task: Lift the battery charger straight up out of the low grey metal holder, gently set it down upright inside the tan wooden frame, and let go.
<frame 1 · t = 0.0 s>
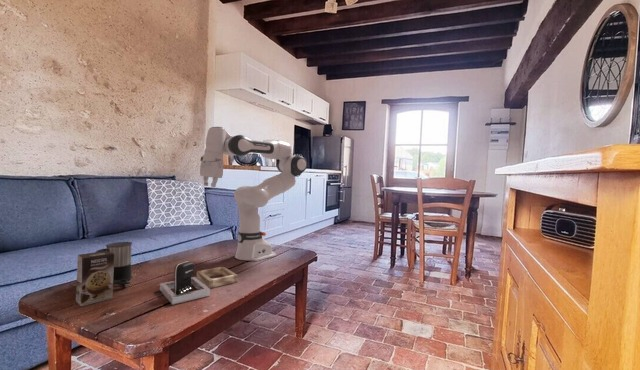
hand: (209, 186, 145), 39 cm above the table, tool pointing down, fingers open, 8 cm apart
battery charger: (184, 293, 111), resting in holder
tan wooden frame: (216, 280, 125), on the table
cookie box: (94, 300, 102), on the table
holder: (184, 292, 111), on the table
milk frother: (119, 282, 117), on the table
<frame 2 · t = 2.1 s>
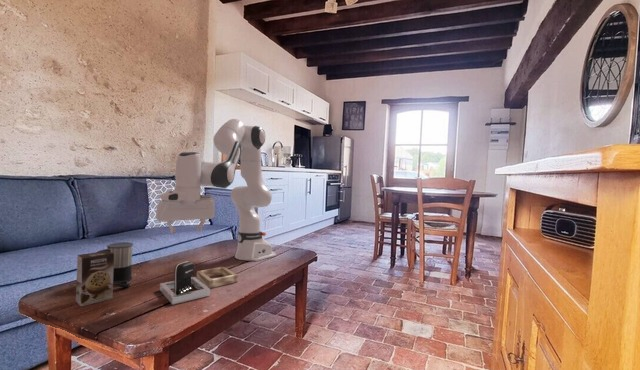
hand: (186, 231, 110), 23 cm above the table, tool pointing down, fingers open, 8 cm apart
nothing on the table moved.
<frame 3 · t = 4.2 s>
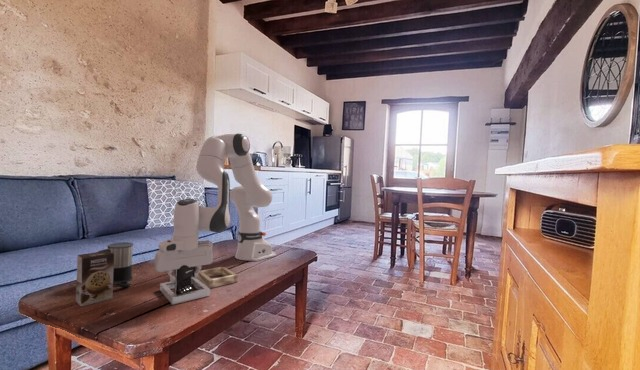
hand: (184, 279, 111), 5 cm above the table, tool pointing down, fingers open, 7 cm apart
battery charger: (184, 293, 111), resting in holder, touching gripper
everything else where it was.
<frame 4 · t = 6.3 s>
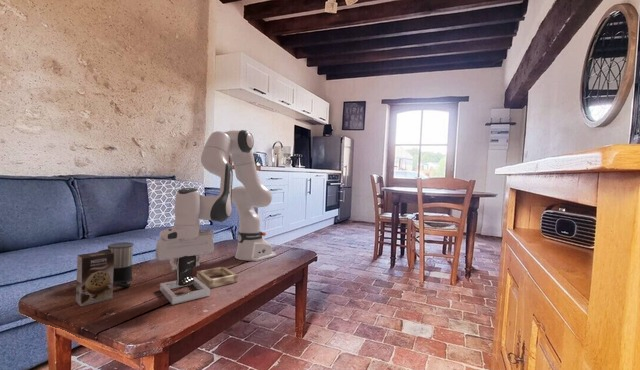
hand: (185, 267, 111), 10 cm above the table, tool pointing down, fingers closed on battery charger, 7 cm apart
battery charger: (186, 284, 111), point 3 cm above the table, touching gripper
everything else where it was.
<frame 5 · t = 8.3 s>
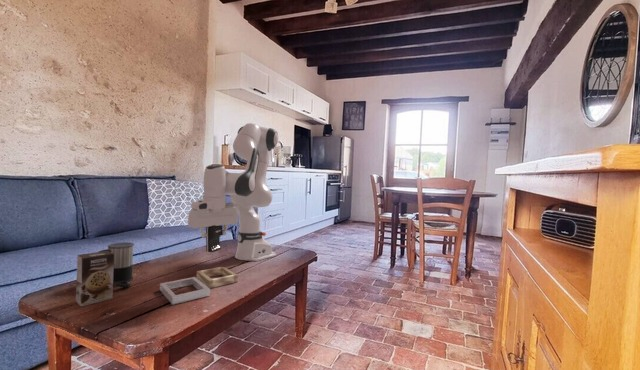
hand: (213, 236, 123), 19 cm above the table, tool pointing down, fingers closed on battery charger, 7 cm apart
battery charger: (214, 251, 124), point 13 cm above the table, touching gripper
everything else where it was.
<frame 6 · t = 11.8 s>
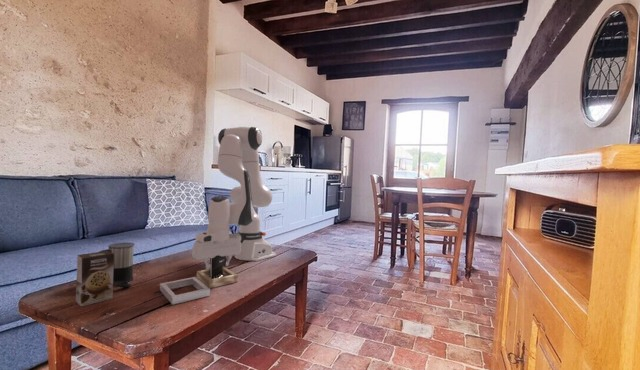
hand: (217, 267, 125), 6 cm above the table, tool pointing down, fingers closed on battery charger, 7 cm apart
battery charger: (217, 280, 126), resting in tan wooden frame, touching gripper
when the fingers open (6 cm above the table, at t = 11.9 s): battery charger stays where it is, resting in tan wooden frame.
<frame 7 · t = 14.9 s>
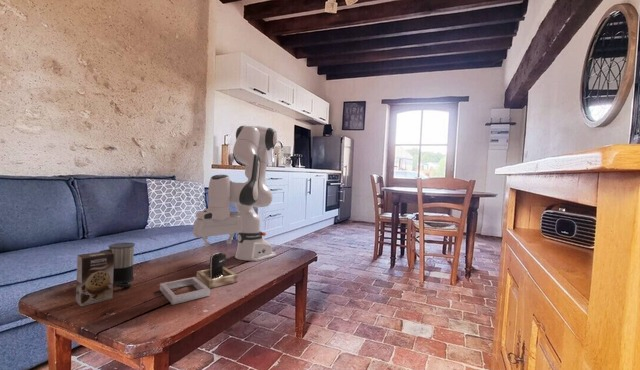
hand: (218, 245, 125), 15 cm above the table, tool pointing down, fingers open, 8 cm apart
battery charger: (217, 280, 126), resting in tan wooden frame
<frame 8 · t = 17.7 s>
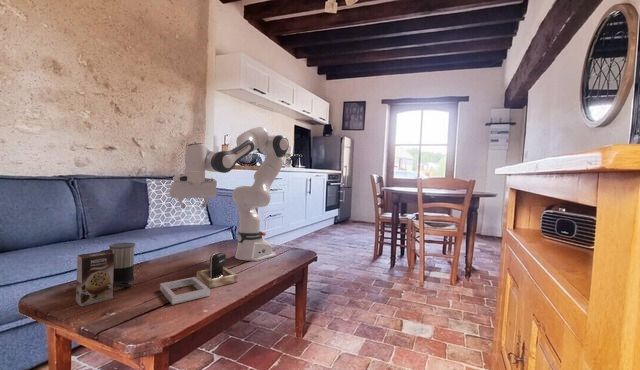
hand: (193, 207, 136), 29 cm above the table, tool pointing down, fingers open, 8 cm apart
at the end: battery charger inside the target area on the tan wooden frame (0.4 cm from its centre), point 0.0 cm above the tan wooden frame's base; battery charger tilted 0°; the gripper is holding nothing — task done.
